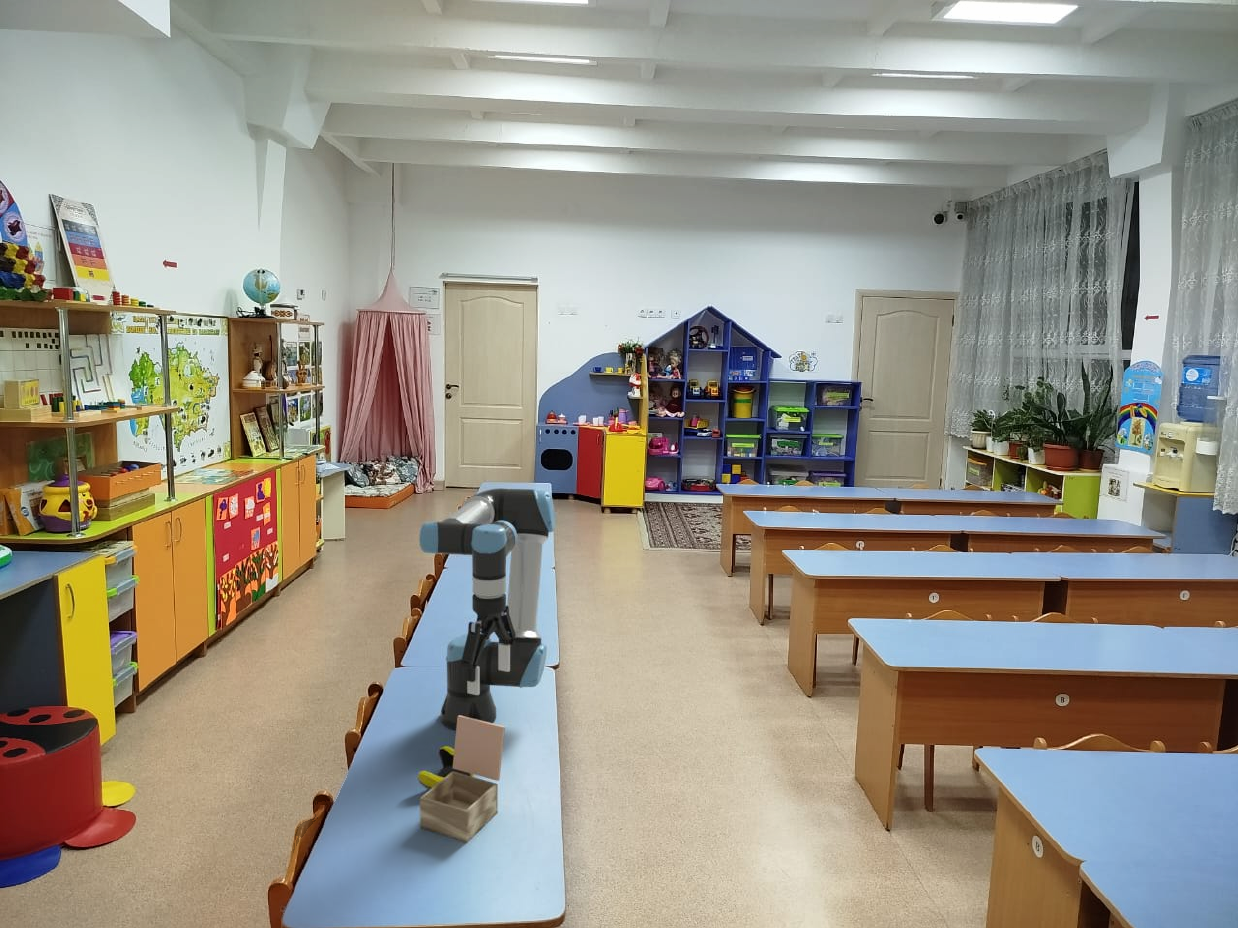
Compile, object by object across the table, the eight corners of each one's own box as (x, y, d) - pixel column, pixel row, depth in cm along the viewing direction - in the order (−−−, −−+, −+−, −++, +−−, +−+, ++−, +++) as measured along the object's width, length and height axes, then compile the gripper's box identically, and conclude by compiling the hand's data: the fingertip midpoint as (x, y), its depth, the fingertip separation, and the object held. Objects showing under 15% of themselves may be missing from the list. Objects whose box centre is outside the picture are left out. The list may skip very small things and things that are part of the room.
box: (452, 799, 191) (452, 771, 189) (497, 812, 186) (497, 783, 185) (420, 827, 180) (419, 797, 179) (467, 842, 175) (467, 811, 174)
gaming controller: (414, 795, 192) (455, 802, 190) (414, 774, 191) (454, 780, 189) (442, 763, 206) (480, 769, 204) (442, 742, 205) (480, 748, 203)
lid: (452, 768, 189) (455, 766, 190) (497, 780, 185) (500, 779, 186) (457, 715, 189) (460, 714, 190) (502, 727, 185) (505, 726, 186)
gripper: (502, 575, 201) (502, 658, 204) (443, 608, 178) (444, 700, 182) (530, 580, 198) (529, 664, 202) (473, 613, 175) (474, 707, 179)
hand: (489, 681), depth 192 cm, fingers open, 13 cm apart
